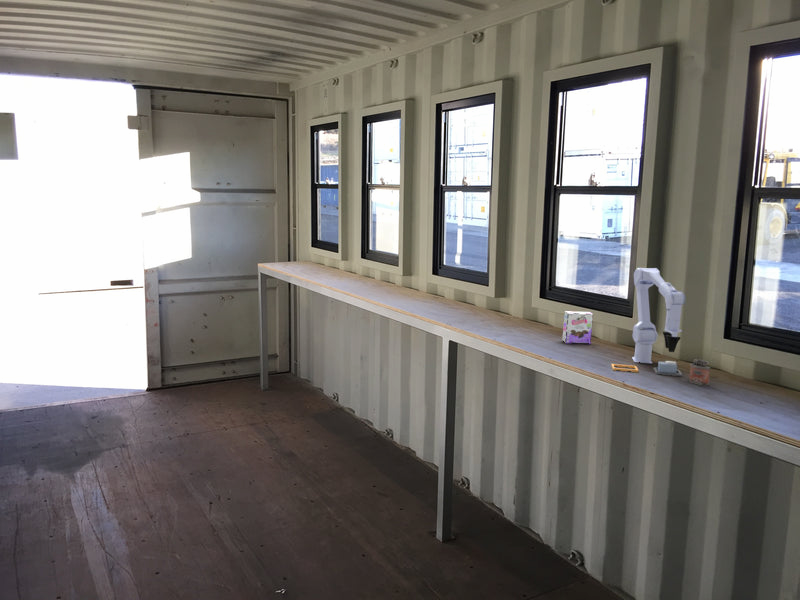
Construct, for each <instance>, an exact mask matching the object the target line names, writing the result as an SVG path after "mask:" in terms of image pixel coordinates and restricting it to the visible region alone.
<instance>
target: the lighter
mask: <svg viewBox="0 0 800 600" xmlns="http://www.w3.org/2000/svg"><path fill="white" fill-rule="evenodd" d="M707 365H708V366H707ZM709 365H710V361H706V360H703V359H701V358H700V359H695V358H694V359H693V363H690V364H689V367H690V370H689V377H688V382H689V383H691V384H696V385H700V386H705V385H708V386H709V383H710V382H709V380H710V379H709V378H710V372H711V371H710V370H711V367H710V366H709Z"/></svg>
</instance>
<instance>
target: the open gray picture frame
mask: <svg viewBox="0 0 800 600" xmlns="http://www.w3.org/2000/svg"><path fill="white" fill-rule="evenodd" d="M652 370H653V371H655V372H654V373H655V375H660V374H662V375H663V376H671V375H672V376H673V377H683V373H682V372H681V371H680V370H679V369H677V372H676V373H667V372H658V367H653V369H652Z"/></svg>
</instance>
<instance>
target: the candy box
mask: <svg viewBox="0 0 800 600" xmlns="http://www.w3.org/2000/svg"><path fill="white" fill-rule="evenodd" d="M593 319H594V314H593V313H592V312H591V311H567V310H565V311H564V316H563V328H562V338H561V341H562V340H563V341H564V342H565V343H564V342H563V341H562V342H563V343H564V344H572V343H589V344H588V345H591V344H592V330H593Z"/></svg>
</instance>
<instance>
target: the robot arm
mask: <svg viewBox="0 0 800 600" xmlns="http://www.w3.org/2000/svg"><path fill="white" fill-rule="evenodd" d="M633 285H634V287H635V290H636V291H635V293H636V305H637V318H638V322H637V323H636V324H635V325H634V326H633V329H632V340H633V341H634V343H635V347H634V356H632V360H633V362H634V363H639V362H640V364H641V363H642V364H651V365H652V364H653V361H652V351H653V350H652V349H653V345H654V344H655V342H656V341H657V339H658V332H657V329H656V325H655V324H654V323H652V322H651V313H650V312H651V311H650V301H649V299H650V298H649V297H650V296H649V289H650V287H653V286H654V285H655V286H656V287H657V288H658V292H659V293H660V294H661V295H662V297H663V298H664V301H665V309H666V315H665V324H664V331H662V334H663V337H664V347H665V349H668V352H669V353H675V350H676V349H677V345H678V343H679V342H680V340H681V336H678V333H682V332H683V330H682V329H680V326H681V325H680V323H681V315H682V308H683V307H682V306H683V305H684V304H685V303H686V295H685V293H684V292H683V291H679V290H677V289H676V288H675V287H674V286H673V285H672V283H671V282H667V281H665V279H664V278H663V277H662V276H661V272H660V270H659V269H658V268H657V267H654V268H653V267H652V268H651V267H649V268H647V267H637V268H636V269H635V270H634V272H633Z"/></svg>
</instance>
